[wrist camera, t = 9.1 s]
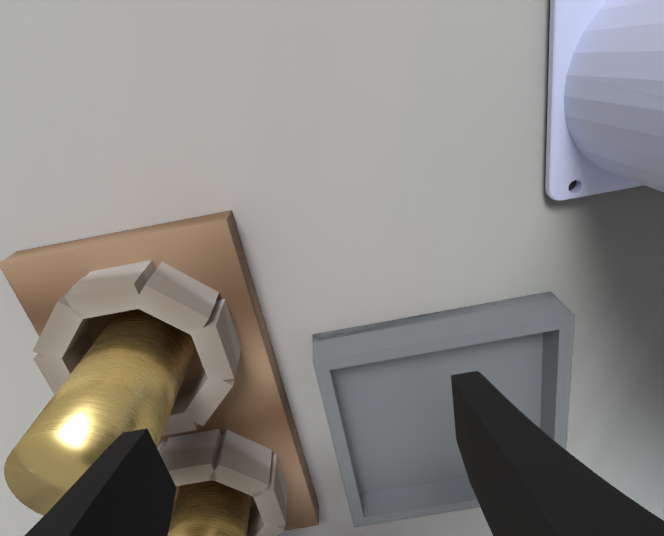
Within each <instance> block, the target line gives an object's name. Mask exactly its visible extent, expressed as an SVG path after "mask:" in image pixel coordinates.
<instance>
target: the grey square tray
mask: <svg viewBox="0 0 664 536" xmlns="http://www.w3.org/2000/svg"><path fill="white" fill-rule="evenodd" d="M574 319H575V315H574V314H573V313H572V312H571V311H570V310H569V309H568V308H567V307H566V306H565V305H564V304H563V303H562V302H561V301H560V300H559V299H558V298H557V297H556V296H555V295H554V294H553V293H552V292H547V293H541V294H536V295H530V296H525V297H519V298H514V299H508V300H503V301H497V302H491V303H486V304H480V305H475V306H469V307H464V308H458V309H453V310H447V311H442V312H436V313H430V314H425V315H419V316H414V317H408V318H403V319H397V320H392V321H386V322H380V323H375V324H369V325H364V326H358V327H353V328H347V329H342V330H336V331H330V332H325V333H319V334H314V335H313V364H314V368H315V372H316V376H317V380H318V384H319V388H320V392H321V396H322V400H323V404H324V408H325V412H326V416H327V420H328V424H329V428H330V432H331V436H332V440H333V444H334V448H335V452H336V456H337V460H338V464H339V468H340V472H341V476H342V480H343V484H344V488H345V492H346V496H347V500H348V504H349V508H350V512H351V516H352V520H353V524H354V527H359V526H365V525H371V524H377V523H383V522H389V521H395V520H402V519H408V518H414V517H420V516H426V515H432V514H438V513H445V512H451V511H457V510H463V509H469V508H475V507H480V504H479V502H478V500H477V498H476V495H475V493H474V491H473V488H472V486H471V484H470V481H469V478H468V475H467V472H466V469H465V466H464V463H463V460H462V457H461V453H460V450H459V447H458V444H457V441H456V432H455V420H454V408H453V396H452V384H451V375H456V374H461V373H467V372H473V371H478V372H480V373H481V374H483V375H484V376H485V377H486V378H487V379H488V380H489V381H490V382H491V383H492V384H493V385H494V386H495V387H496V388H497V389H498V390H499V391H500V392H501V393H502V394H503V395H504V396H505V397H506V398H507V399H508V400H509V401H510V402H511V403H512V404H513V405H514V406H516V407H517V408H518V409H519V410H520V411H521V412H522V413H523V414H524V415H525V416H526V417H528V418H529V419H530V420H531V421H532V422H533V423H534V424H536V425H537V426H538V427H539V428H540V429H541V430H543V431H544V432H545V433H546V434H547V435H548V436H549V437H551V438H552V439H553V440H554V441H555V442H557V443H558V444H559V445H560V446H561V447H563V448H564V449H565V450H566V443H567V427H568V412H569V396H570V381H571V365H572V350H573V334H574Z"/></svg>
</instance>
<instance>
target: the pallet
mask: <svg viewBox="0 0 664 536" xmlns="http://www.w3.org/2000/svg"><path fill="white" fill-rule="evenodd" d="M0 268H1V270H2V271H3V273H4V275H5V277H6V279H7V280H8V282H9V284H10V286H11V287H12V289H13V291H14V293H15V294H16V296H17V298H18V300H19V301H20V303H21V305H22V307H23V309H24V310H25V312H26V314H27V316H28V317H29V319H30V321H31V323H32V324H33V326H34V328H35V330H36V332H37V333H38V335H39V339H38V341H37V343H36V345H35V347H34V349H33V351H34V352H37V353H38V354H37V356H36V357H35V358H34V360H35V362H36V364H37V366H38V367H39V369H40V371H41V372H42V374H43V376H44V378H45V379H46V381H47V383H48V384H49V386H50V388H51V389H52V391H53V393H54V395H55V394H56V392H57V391H58V390H59V388H60V387H61V386H62V384H63V383H64V382H65V380H66V379H67V378H68V376H69V375H70V374H71V373H72V371H73V370H74V369H75V367H76V366H77V365H78V363H79V362H80V361H81V359H82V358H83V357H84V355H85V354H86V353H87V351H88V350H89V349H90V347H91V346H92V345H93V344H94V342H95V341H96V340H97V338H98V337H99V336H100V334H101V333H102V332H103V330H104V329H105V328H106V326H107V325H108V324H109V322H110V321H111V320H112V319H113V317H114V316H115V315H116V314H117V313H118V312H124V311H129V310H135V309H140V310H142V311H144V312H146V313H148V314H150V315H152V316H154V317H156V318H158V319H160V320H162V321H164V322H166V323H168V324H170V325H172V326H174V327H176V328H178V329H180V330H182V331H184V332H186V333H188V334H190V335H191V336H192V339H193V341H194V344H195V347H196V349H195V352H194V355H193V357H192V360H191V362H190V365H189V367H188V370H187V373H186V375H185V378H184V380H183V383H182V385H181V388H180V390H179V393H178V395H177V398H176V401H175V403H174V406H173V408H172V411H171V413H170V416H169V418H168V421H167V423H166V426H165V428H164V431H163V434H162V436H161V439H160V441H159V444H158V446H157V449H158V451H159V453H160V455H161V457H162V459H163V461H164V463H165V465H166V467H167V469H168V471H169V473H170V475H171V477H172V479H173V482H174V484H175V486H176V492H175V498H174V505H175V502H176V499H177V496H178V492H179V489H180V486H181V485H186V484H192V483H198V482H204V481H209V480H214V481H217V482H219V483H222V484H224V485H226V486H229V487H231V488H234V489H236V490H239V491H241V492H244V493H246V494H249V495H251V496H252V499H251V506H250V514H249V521H248V529H247V536H279V535H280V534H281V533H282V532H283V531H285V530H291V529H297V528H303V527H309V526H315V525H319V510H318V502H317V499H316V495H315V492H314V488H313V485H312V482H311V478H310V475H309V471H308V468H307V465H306V461H305V458H304V455H303V451H302V448H301V444H300V441H299V438H298V434H297V431H296V427H295V424H294V421H293V417H292V414H291V410H290V407H289V404H288V400H287V397H286V394H285V390H284V387H283V383H282V380H281V377H280V373H279V370H278V366H277V363H276V360H275V356H274V353H273V349H272V346H271V343H270V339H269V336H268V333H267V329H266V326H265V322H264V319H263V316H262V312H261V309H260V305H259V302H258V299H257V295H256V292H255V288H254V285H253V282H252V278H251V275H250V272H249V268H248V265H247V261H246V258H245V255H244V251H243V248H242V244H241V241H240V238H239V234H238V231H237V227H236V224H235V221H234V217H233V214H232V210H231V211H226V212H221V213H216V214H210V215H205V216H200V217H195V218H189V219H184V220H179V221H174V222H169V223H163V224H158V225H153V226H148V227H143V228H137V229H132V230H127V231H122V232H117V233H111V234H106V235H101V236H96V237H91V238H85V239H80V240H75V241H70V242H65V243H59V244H54V245H49V246H44V247H39V248H33V249H28V250H23V251H18V252H16V253H14V254H13V255H11V256H10V257H8V258H7V259H5V260H3V261H2V262H0ZM174 505H173V509H174ZM172 512H173V511H172Z"/></svg>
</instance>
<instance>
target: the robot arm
mask: <svg viewBox="0 0 664 536" xmlns="http://www.w3.org/2000/svg"><path fill="white" fill-rule="evenodd" d="M575 180H576V186H575V187H574V188H573V189H572V190H570V191H569V189H568V187H569V184H570V183H571V182H572V181H575ZM643 185H645V186H648V187H651V188H653V189H656V190H659V191H661V192H664V0H550V34H549V71H548V108H547V146H546V183H545V190H546V194H547V195H548V197H550V198H551V199H553V200H556V201H563V200H569V199H574V198H579V197H585V196H590V195H595V194H601V193H606V192H611V191H617V190H622V189H627V188H633V187H638V186H643ZM451 384H452V396H453V408H454V420H455V432H456V441H457V444H458V447H459V450H460V453H461V457H462V460H463V463H464V466H465V469H466V472H467V475H468V478H469V481H470V484H471V486H472V488H473V491H474V493H475V495H476V498H477V500H478V502H479V504H480V507H481V509H482V511H483V514H484V516H485V518H486V520H487V523H488V525H489V527H490V529H491V532H492V534H493V536H664V521H663V520H662V519H660V518H658V517H657V516H655V515H654V514H652V513H651V512H649V511H648V510H646V509H645V508H643V507H642V506H640V505H639V504H638V503H636V502H635V501H633V500H632V499H630V498H629V497H627V496H626V495H625V494H623V493H622V492H620V491H619V490H617V489H616V488H615V487H613V486H612V485H611V484H609V483H608V482H606V481H605V480H604V479H602V478H601V477H600V476H598V475H597V474H596V473H594V472H593V471H592V470H590V469H589V468H588V467H587V466H585V465H584V464H583V463H581V462H580V461H579V460H578V459H576V458H575V457H574V456H572V455H571V454H570V453H569V452H568V451H566V450H565V449H564V448H563V447H561V446H560V445H559V444H558V443H557V442H555V441H554V440H553V439H552V438H551V437H549V436H548V435H547V434H546V433H545V432H544V431H543V430H541V429H540V428H539V427H538V426H537V425H536V424H534V423H533V422H532V421H531V420H530V419H529V418H528V417H526V416H525V415H524V414H523V413H522V412H521V411H520V410H519V409H518V408H517V407H516V406H514V405H513V404H512V403H511V402H510V401H509V400H508V399H507V398H506V397H505V396H504V395H503V394H502V393H501V392H500V391H499V390H498V389H497V388H496V387H495V386H494V385H493V384H492V383H491V382H490V381H489V380H488V379H487V378H486V377H485V376H484V375H483V374H481V373H480V372H478V371H473V372H467V373H461V374H456V375H451ZM175 492H176V486H175V484H174V482H173V479H172V477H171V475H170V473H169V471H168V469H167V467H166V465H165V463H164V461H163V459H162V457H161V455H160V453H159V451H158V449H157V447H156V445H155V443H154V441H153V439H152V437H151V435H150V433H149V431H148V429H147V428H146V429H140V430H135V431H129V432H123V433H122V434H121V435H120V436H119V437H118V438H117V439H116V440H115V441H114V442H113V443H112V444H111V445H110V446H109V447H108V448H107V449H106V450H105V451H104V452H103V453H102V454H101V455H100V456H99V457H98V458H97V460H96V461H95V462H94V463H93V464H92V465H91V466H90V467H89V468H88V469H87V470H86V471H85V473H84V474H83V475H82V476H81V477H80V478H79V479H78V480H77V481H76V482H75V483H74V484H73V486H72V487H71V488H70V489H69V490H68V491H67V492H66V493H65V494H64V495H63V496H62V497H61V498H60V499H59V501H58V502H57V503H56V504H55V505H54V506H53V507H52V508H51V509H50V510H49V511H48V512H47V513H46V514H45V515H44V516H43V518H42V519H41V520H40V521H39V522H38V523H37V524H36V525H35V526H34V527H33V528H32V529H31V530H30V531H29V532H28V533H27V534H26V535H25V536H168V532H169V527H170V522H171V516H172V511H173V505H174V498H175Z"/></svg>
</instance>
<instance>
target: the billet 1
mask: <svg viewBox="0 0 664 536" xmlns="http://www.w3.org/2000/svg"><path fill="white" fill-rule="evenodd" d="M195 349H196V347H195V344H194V341H193V339H192V336H191V335H190V334H188V333H186V332H184V331H182V330H180V329H178V328H176V327H174V326H172V325H170V324H168V323H166V322H164V321H162V320H160V319H158V318H156V317H154V316H152V315H150V314H148V313H146V312H144V311H142V310H140V309H135V310H129V311H124V312H118V313H117V314H116V315H115V316H114V317H113V319H112V320H111V321H110V322H109V324H108V325H107V326H106V328H105V329H104V330H103V332H102V333H101V334H100V336H99V337H98V338H97V340H96V341H95V342H94V344H93V345H92V346H91V347H90V349H89V350H88V351H87V353H86V354H85V355H84V357H83V358H82V359H81V361H80V362H79V363H78V365H77V366H76V367H75V369H74V370H73V371H72V373H71V374H70V375H69V376H68V378H67V379H66V380H65V382H64V383H63V384H62V386H61V387H60V388H59V390H58V391H57V392H56V394H55V395H54V396H53V398H52V399H51V400H50V402H49V403H48V404H47V405H46V407H45V408H44V409H43V411H42V412H41V413H40V415H39V416H38V417H37V419H36V420H35V421H34V423H33V424H32V425H31V427H30V428H29V429H28V430H27V432H26V433H25V434H24V436H23V437H22V438H21V440H20V441H19V442H18V444H17V445H16V446H15V448H14V449H13V450H12V452H11V453H10V454H9V456H8V457H7V460H6V462H5V467H4V475H5V479H6V482H7V484H8V487H9V488H10V490H11V491H12V493H13V494H14V495H15V496H16V498H17V499H19V500H20V501H21V502H22V503H23V504H24V505H26V506H27V507H28V508H30V509H32V510H33V511H35V512H37V513H39V514H41V515H43V516H44V515H45V514H46V513H47V512H48V511H49V510H50V509H51V508H52V507H53V506H54V505H55V504H56V503H57V502H58V501H59V499H60V498H61V497H62V496H63V495H64V494H65V493H66V492H67V491H68V490H69V489H70V488H71V487H72V486H73V484H74V483H75V482H76V481H77V480H78V479H79V478H80V477H81V476H82V475H83V474H84V473H85V471H86V470H87V469H88V468H89V467H90V466H91V465H92V464H93V463H94V462H95V461H96V460H97V458H98V457H99V456H100V455H101V454H102V453H103V452H104V451H105V450H106V449H107V448H108V447H109V446H110V445H111V444H112V443H113V442H114V441H115V440H116V439H117V438H118V437H119V436H120V435H121V434H122V433H123V432H129V431H135V430H140V429H146V428H147V429H148V431H149V433H150V435H151V437H152V439H153V441H154V443H155V445H156V447H157V446H158V444H159V441H160V439H161V436H162V434H163V431H164V428H165V426H166V423H167V421H168V418H169V416H170V413H171V411H172V408H173V406H174V403H175V401H176V398H177V395H178V393H179V390H180V388H181V385H182V383H183V380H184V378H185V375H186V373H187V370H188V367H189V365H190V362H191V360H192V357H193V355H194V352H195Z"/></svg>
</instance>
